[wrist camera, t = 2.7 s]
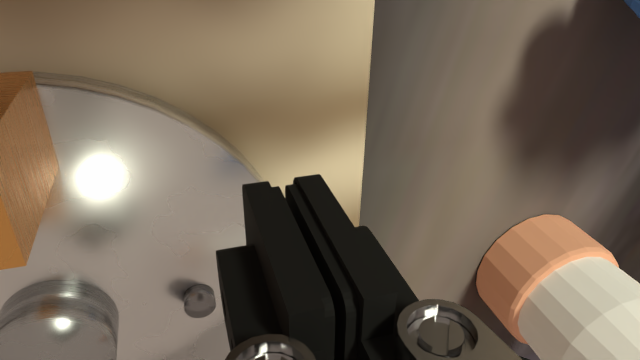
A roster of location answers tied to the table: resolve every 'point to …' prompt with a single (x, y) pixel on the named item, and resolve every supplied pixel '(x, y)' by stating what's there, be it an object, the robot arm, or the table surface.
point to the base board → (223, 71)
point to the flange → (112, 223)
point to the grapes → (634, 6)
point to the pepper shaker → (561, 292)
